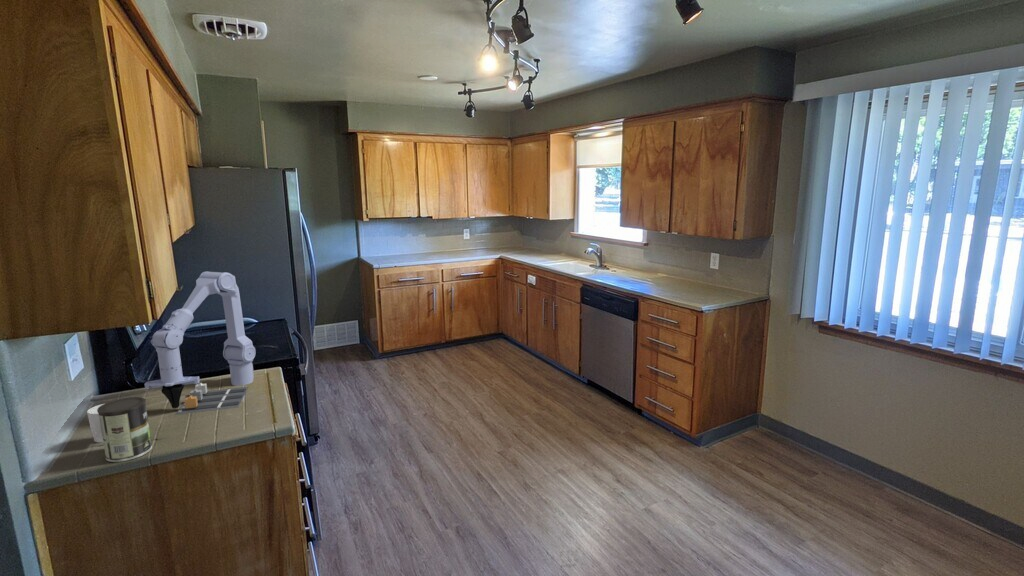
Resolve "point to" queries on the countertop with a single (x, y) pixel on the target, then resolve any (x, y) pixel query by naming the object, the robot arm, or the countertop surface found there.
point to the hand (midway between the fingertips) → (175, 407)
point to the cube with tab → (202, 387)
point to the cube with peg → (197, 394)
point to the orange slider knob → (191, 402)
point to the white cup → (95, 423)
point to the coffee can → (125, 429)
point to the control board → (216, 400)
